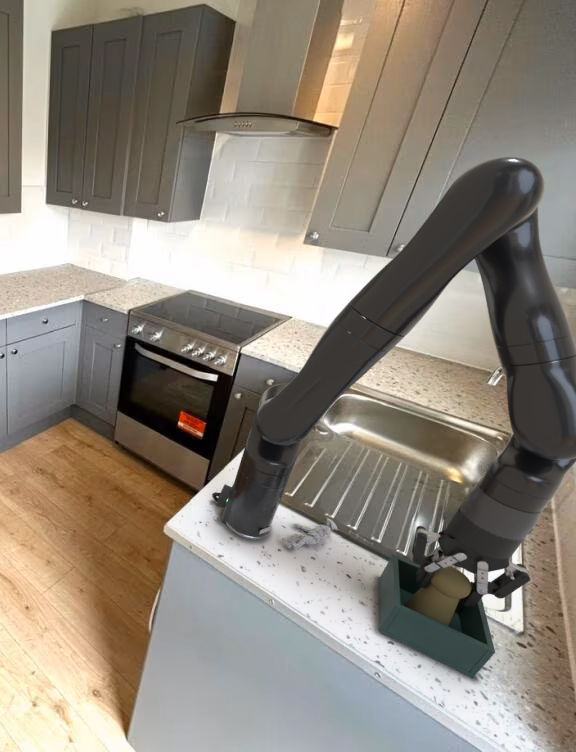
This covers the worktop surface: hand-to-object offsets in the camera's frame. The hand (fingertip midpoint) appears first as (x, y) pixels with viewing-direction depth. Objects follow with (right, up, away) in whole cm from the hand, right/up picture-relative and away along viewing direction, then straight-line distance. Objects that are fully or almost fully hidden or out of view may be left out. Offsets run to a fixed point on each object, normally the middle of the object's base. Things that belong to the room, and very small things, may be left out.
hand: (441, 592), depth 71 cm
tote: (-1, -7, +4) cm, 8 cm away
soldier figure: (-12, +1, +19) cm, 22 cm away
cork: (0, -6, +3) cm, 7 cm away
